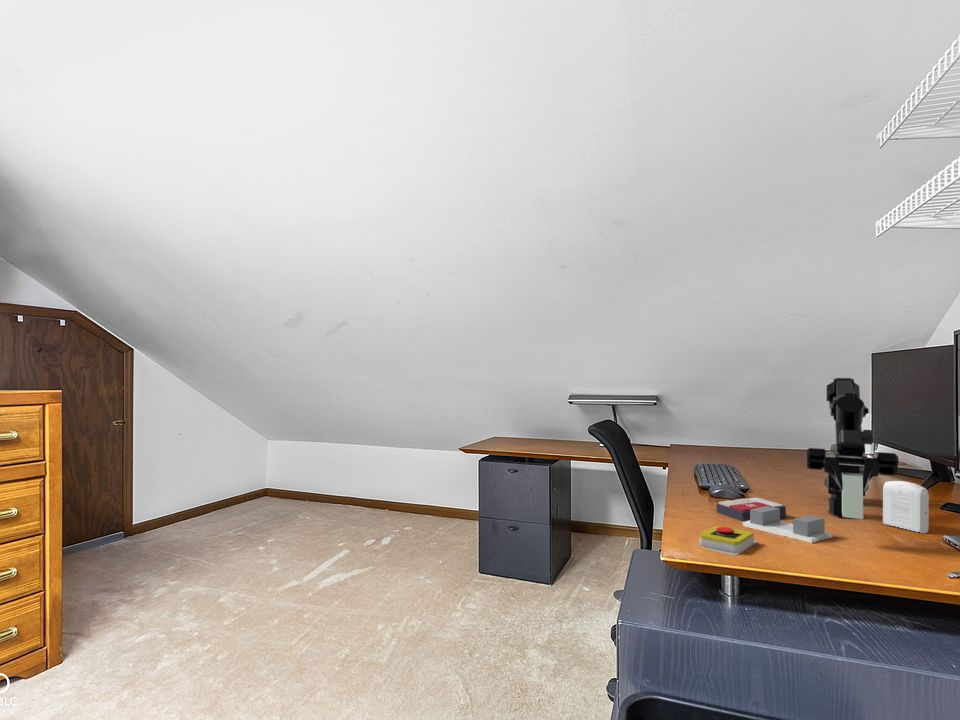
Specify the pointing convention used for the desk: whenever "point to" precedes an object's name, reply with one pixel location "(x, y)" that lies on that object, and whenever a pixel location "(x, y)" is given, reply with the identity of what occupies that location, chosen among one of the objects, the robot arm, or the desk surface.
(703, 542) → the emergency button
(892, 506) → the white rounded upright block
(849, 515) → the block
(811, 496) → the desk surface
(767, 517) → the rail board
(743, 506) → the calculator
